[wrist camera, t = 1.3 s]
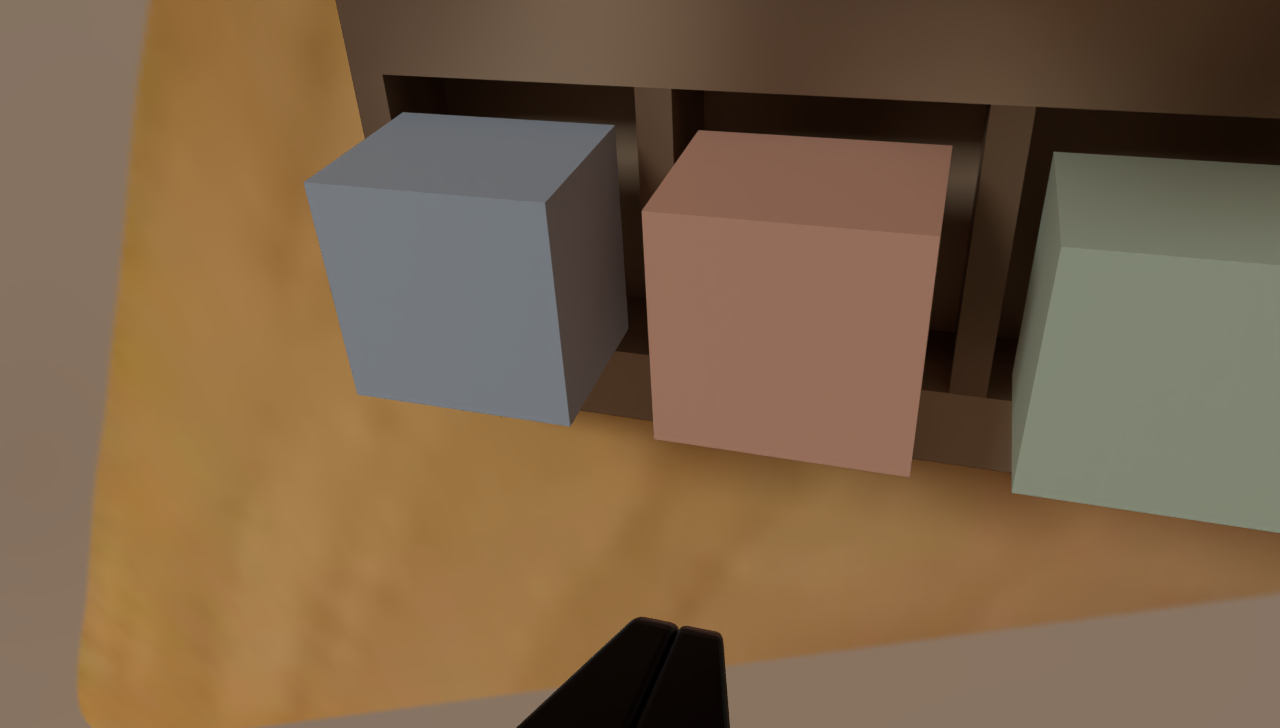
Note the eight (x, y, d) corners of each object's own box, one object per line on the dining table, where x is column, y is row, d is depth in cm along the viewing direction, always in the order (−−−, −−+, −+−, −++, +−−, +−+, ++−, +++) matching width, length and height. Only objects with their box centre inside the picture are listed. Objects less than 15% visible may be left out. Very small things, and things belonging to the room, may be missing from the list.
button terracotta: (953, 146, 14) (940, 236, 12) (924, 364, 17) (909, 477, 14) (698, 130, 16) (641, 210, 13) (702, 337, 18) (654, 439, 15)
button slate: (614, 125, 16) (544, 202, 14) (628, 328, 18) (570, 425, 16) (403, 112, 17) (303, 182, 15) (439, 305, 19) (357, 394, 17)
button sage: (1363, 170, 13) (1440, 279, 11) (1276, 406, 15) (1324, 539, 13) (1054, 151, 14) (1061, 246, 12) (1012, 373, 16) (1011, 492, 14)
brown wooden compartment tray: (1443, -42, 14) (1514, 4, 12) (1269, 424, 18) (1300, 515, 16) (406, -52, 18) (331, -21, 16) (470, 324, 22) (417, 386, 21)
